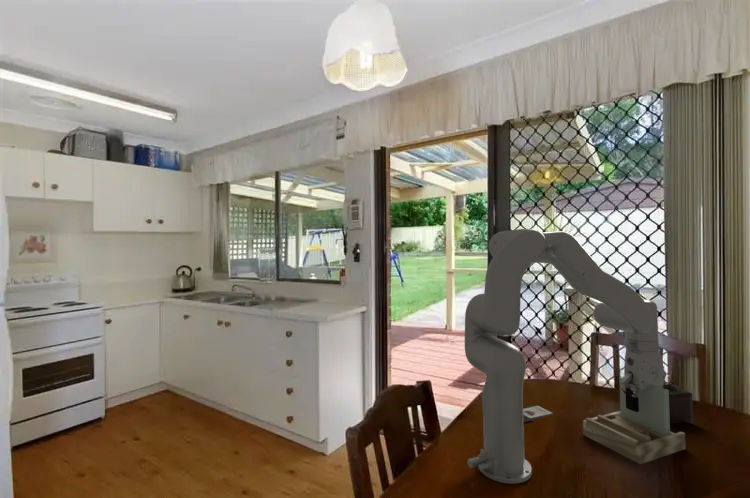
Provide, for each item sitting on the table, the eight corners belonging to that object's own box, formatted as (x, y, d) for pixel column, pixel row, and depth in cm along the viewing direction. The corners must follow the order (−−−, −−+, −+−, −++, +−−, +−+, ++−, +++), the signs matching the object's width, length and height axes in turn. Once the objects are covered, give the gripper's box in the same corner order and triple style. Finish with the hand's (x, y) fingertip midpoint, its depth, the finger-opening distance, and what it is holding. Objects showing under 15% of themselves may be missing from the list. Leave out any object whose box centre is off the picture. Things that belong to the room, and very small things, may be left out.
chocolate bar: (491, 413, 123) (535, 404, 129) (491, 416, 123) (535, 406, 129) (509, 425, 115) (555, 414, 121) (509, 428, 115) (556, 417, 121)
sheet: (665, 448, 98) (663, 391, 98) (620, 428, 109) (619, 377, 109) (670, 447, 99) (668, 390, 99) (625, 427, 110) (624, 376, 110)
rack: (640, 468, 92) (639, 443, 92) (583, 438, 107) (582, 416, 107) (685, 452, 98) (684, 429, 98) (625, 426, 113) (624, 406, 113)
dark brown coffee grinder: (697, 424, 113) (695, 364, 113) (663, 428, 111) (661, 367, 111) (652, 403, 128) (650, 350, 128) (622, 406, 127) (621, 352, 127)
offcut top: (641, 439, 98) (641, 432, 98) (610, 427, 106) (610, 419, 106) (649, 436, 100) (648, 429, 100) (618, 424, 107) (618, 417, 107)
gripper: (633, 352, 98) (636, 418, 98) (677, 343, 104) (680, 405, 104) (606, 346, 105) (609, 407, 105) (649, 337, 111) (651, 395, 111)
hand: (644, 406), depth 104 cm, fingers open, 9 cm apart
